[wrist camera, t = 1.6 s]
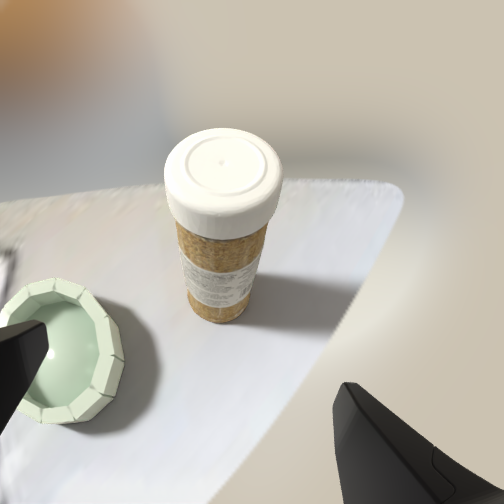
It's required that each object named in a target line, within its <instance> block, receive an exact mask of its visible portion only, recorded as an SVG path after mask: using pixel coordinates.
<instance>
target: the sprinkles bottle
mask: <svg viewBox="0 0 504 504" xmlns="http://www.w3.org/2000/svg"><path fill="white" fill-rule="evenodd" d="M164 178H165V179H164V180H165V188H166V194H167V200H168V205H169V208H170V211H171V213H172V214H173V216H174V218H175V220H176V227H177V233H178V241H179V242H178V246H179V252H180V258H181V264H182V269H183V274H184V278H185V283H186V286H187V288H188V289H187V291H188V300H189V303H190V305H191V307H192V309H193V310H194V312H195V313H196V314H198V315H199V316H200V317H201V318H203V319H205V320H207V321H210V322H215V323H222V322H227V321H231V320H233V319H235V318H237V317H238V316H239V315H240V314H241V313H242V312H243V311H244V310H245V308H246V306H247V305H248V302H249V298H250V290H251V288H252V286H253V282H254V278H255V275H256V272H257V268H258V264H259V260H260V257H261V253H262V249H263V245H264V240H265V234H266V229H267V225H268V222H269V220H270V219H271V217H272V216H273V214H274V212H275V210H276V208H277V204H278V201H279V197H280V192H281V187H282V182H283V167H282V163H281V161H280V158H279V157H278V155H277V153H276V152H275V150H274V149H273V148H272V147H271V146H270V145H269V144H268V143H267V142H265V141H264V140H263V139H261V138H259V137H257V136H255V135H253V134H251V133H248V132H246V131H242V130H238V129H229V128H215V129H209V130H205V131H201V132H198V133H195V134H193V135H191V136H189V137H187V138H186V139H184V140H183V141H182V142H180V143H179V144H178V145H177V146H176V147H175V148H174V149H173V150H172V152H171V153H170V155H169V156H168V159H167V161H166V164H165V170H164Z"/></svg>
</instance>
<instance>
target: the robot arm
mask: <svg viewBox="0 0 504 504" xmlns="http://www.w3.org/2000/svg"><path fill="white" fill-rule="evenodd" d="M48 350H49V341H48V334H47V327H46V324H45V323H44V322H41V321H38V320H35V319H33V320H29V321H25V322H21V323H17V324H13V325H9V326H5V327H1V328H0V435H1V433H2V432H3V430H4V428H5V427H6V425H7V423H8V421H9V420H10V418H11V416H12V415H13V413H14V412H15V410H16V408H17V407H18V405H19V403H20V402H21V400H22V399H23V397H24V396H25V394H26V392H27V391H28V389H29V387H30V386H31V384H32V382H33V380H34V378H35V376H36V374H37V372H38V370H39V368H40V366H41V364H42V362H43V361H44V359H45V357H46V355H47V353H48ZM333 425H334V442H335V443H334V444H335V454H336V461H337V466H338V472H339V478H340V484H341V490H342V495H343V501H344V504H504V490H502V489H500V488H498V487H496V486H494V485H492V484H491V483H489V482H487V481H486V480H484V479H483V478H481V477H479V476H477V475H476V474H474V473H473V472H471V471H469V470H468V469H466V468H465V467H463V466H462V465H460V464H459V463H457V462H456V461H454V460H453V459H452V458H450V457H449V456H447V455H446V454H445V453H443V452H442V451H441V450H440V449H438V448H437V447H436V446H435V447H434V445H433V444H432V443H430V442H429V441H428V440H427V439H425V438H424V437H423V436H422V435H420V434H419V433H418V432H416V431H415V430H414V429H413V428H411V427H410V426H409V425H408V424H406V423H405V422H404V421H403V420H401V419H400V418H399V417H398V416H396V415H395V414H394V413H393V412H392V411H390V410H389V409H388V408H387V407H385V406H384V405H383V404H382V403H380V402H379V401H378V400H377V399H376V398H374V397H373V396H372V395H371V394H369V393H368V392H367V391H366V390H365V389H363V388H362V387H361V386H360V385H358V384H357V383H351V382H344V383H342V385H341V386H340V389H339V391H338V394H337V396H336V398H335V401H334V404H333Z"/></svg>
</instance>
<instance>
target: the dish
mask: <svg viewBox="0 0 504 504" xmlns="http://www.w3.org/2000/svg"><path fill="white" fill-rule="evenodd" d="M4 307H5V309H4V308H3V309H2V311H1V314H0V328H1V327H5V326H9V325H13V324H17V323H21V322H25V321H29V320H33V319H35V320H38V321H41V322H44V323H45V324H46V327H47V334H48V341H49V350H48V353H47V355H46V357H45V359H44V361H43V362H42V364H41V366H40V368H39V370H38V372H37V374H36V376H35V378H34V380H33V382H32V384H31V386H30V387H29V389H28V391H27V392H26V394H25V396H24V397H23V399H22V400H21V402H20V403H19V405H18V407H17V408H16V410H18V411H20V412H21V413H23V414H25V415H26V416H28V417H30V418H32V419H33V420H35V421H37V422H39V423H42V424H68V423H77V422H85V421H88V420H91V419H92V418H93V417H94V416H95V415H97V414H98V413H99V412H100V411H101V410H102V409H103V408H104V407H105V406H106V405H107V404H109V403H110V402H111V401H112V400H113V399H114V398H113V397H112V396H114V397H115V395H116V392H117V388H118V385H119V381H120V378H121V375H122V371H123V368H124V365H125V363H123V361H125V359H124V354H123V349H122V344H121V339H120V333H119V328H118V327H117V324H116V323H115V322H114V321H113V319H112V318H111V317H110V316H109V315H108V313H107V312H106V311H105V310H104V308H103V307H102V306H101V305H100V303H99V302H98V301H97V300H96V299H95V297H94V296H93V295H92V294H91V293H90V292H89V291H88V290H87V289H86V288H85V287H83V286H80V285H77V284H74V283H71V282H69V281H66V280H63V279H60V278H57V279H56V278H55V277H54V278H50V279H46V280H42V281H38V282H34V283H30V284H27V286H26V285H25V286H24V287H23V288H22V289H21V290H20V291H19V292H18V293H17V294H16V295H15V296H14V297H13V298H12V299H11V300H10V301H9V302H8V303H7V304H6V305H5V306H4Z"/></svg>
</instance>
